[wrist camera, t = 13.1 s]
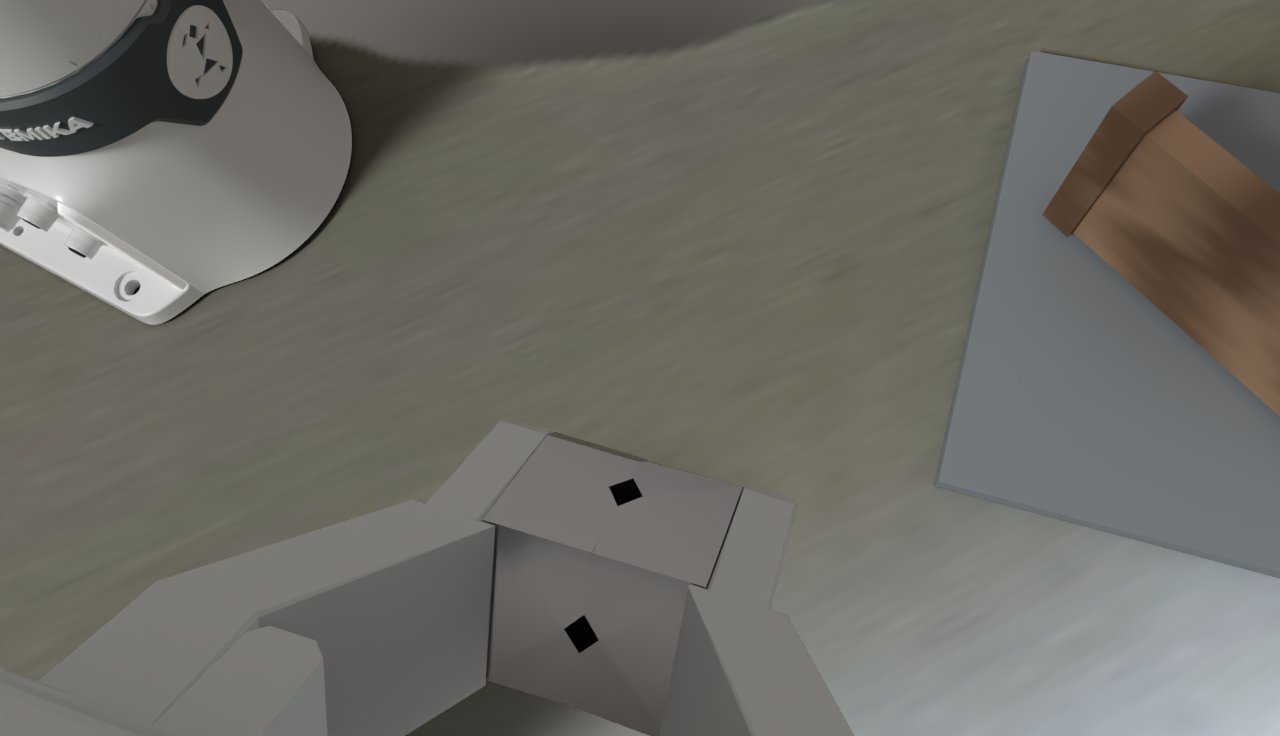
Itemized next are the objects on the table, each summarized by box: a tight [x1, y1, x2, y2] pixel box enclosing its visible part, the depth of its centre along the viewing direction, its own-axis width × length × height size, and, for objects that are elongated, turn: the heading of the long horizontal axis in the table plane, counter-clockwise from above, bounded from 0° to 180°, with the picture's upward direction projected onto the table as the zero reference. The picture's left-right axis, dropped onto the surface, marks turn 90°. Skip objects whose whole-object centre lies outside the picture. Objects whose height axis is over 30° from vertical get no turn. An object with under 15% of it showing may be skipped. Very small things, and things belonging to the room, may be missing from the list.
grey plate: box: [934, 51, 1280, 578], centre depth 41 cm, size 14×22×1 cm, turn 163°
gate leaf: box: [1042, 71, 1280, 416], centre depth 35 cm, size 15×2×8 cm, turn 38°
